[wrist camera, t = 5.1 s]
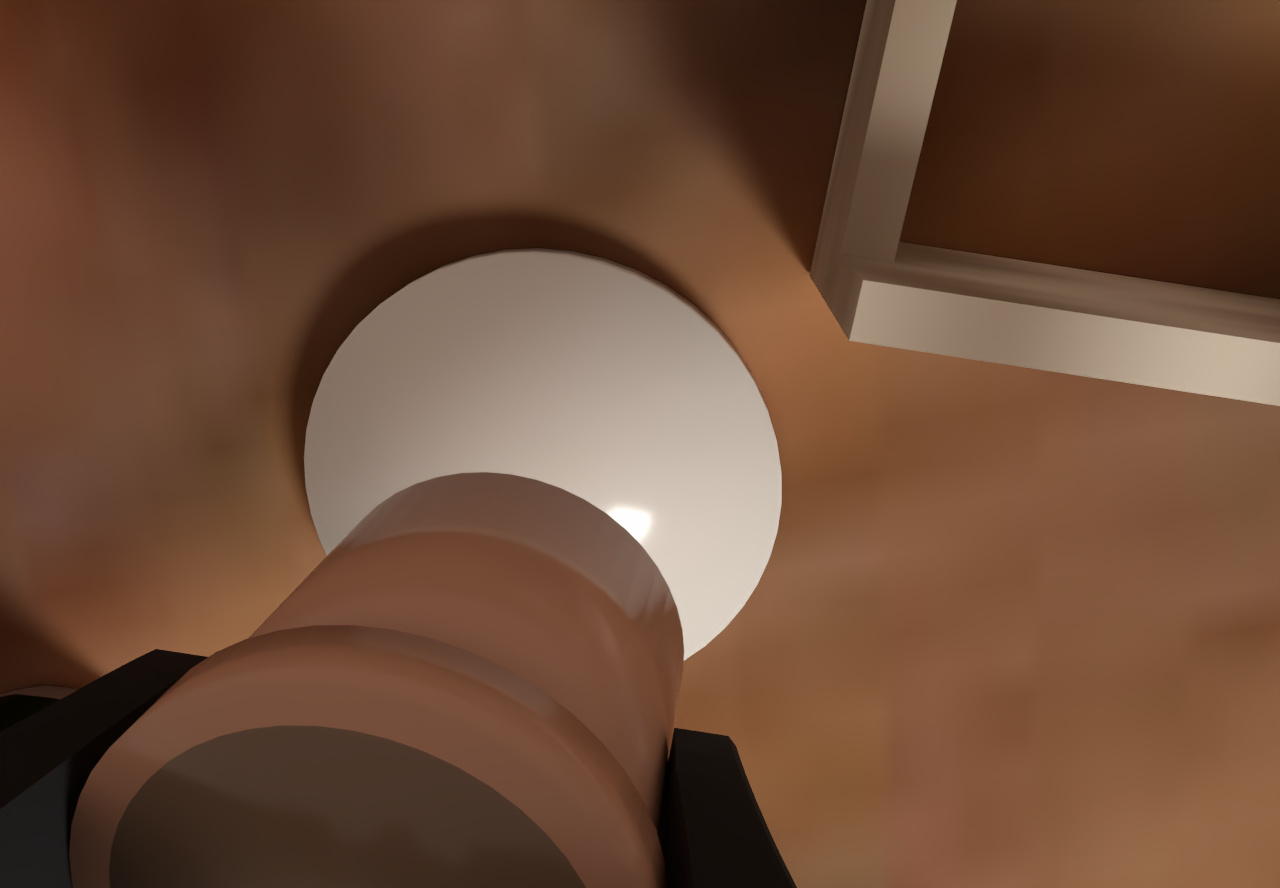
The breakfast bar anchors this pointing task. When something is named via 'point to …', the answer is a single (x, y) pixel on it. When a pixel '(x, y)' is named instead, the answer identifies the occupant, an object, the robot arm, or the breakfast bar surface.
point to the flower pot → (416, 715)
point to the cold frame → (995, 286)
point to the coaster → (560, 413)
